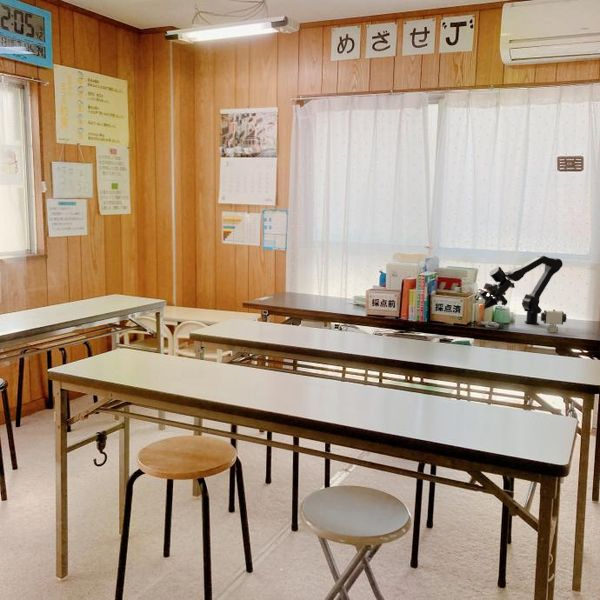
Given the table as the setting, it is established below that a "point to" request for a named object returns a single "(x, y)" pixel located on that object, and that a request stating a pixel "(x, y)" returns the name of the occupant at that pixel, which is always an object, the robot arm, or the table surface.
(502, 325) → the stop peg
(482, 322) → the crank
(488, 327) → the hub plate
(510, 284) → the robot arm
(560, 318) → the pneumatic valve
